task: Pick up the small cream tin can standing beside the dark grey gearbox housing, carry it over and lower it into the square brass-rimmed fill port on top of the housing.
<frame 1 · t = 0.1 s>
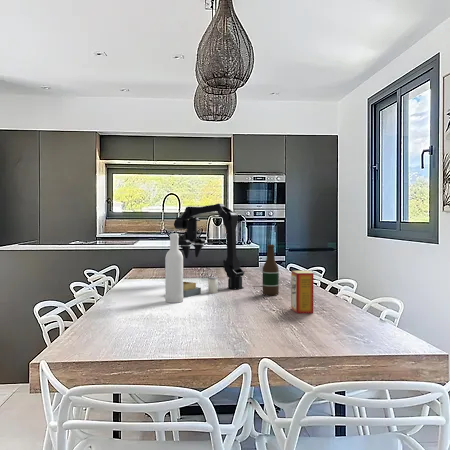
hand: (191, 257, 267), 15 cm above the table, tool pointing down, fingers open, 9 cm apart
bottle: (174, 301, 214), on the table
gearbox: (183, 294, 233), on the table
beer bottle: (270, 294, 233), on the table
baking soda box: (302, 311, 193), on the table
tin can: (212, 292, 238), on the table
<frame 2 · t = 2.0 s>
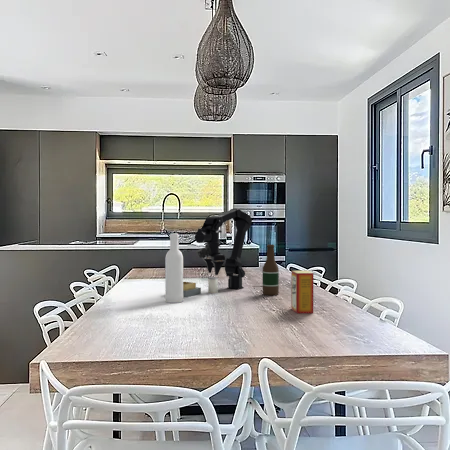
hand: (213, 273, 238), 9 cm above the table, tool pointing down, fingers open, 9 cm apart
nothing on the table moved.
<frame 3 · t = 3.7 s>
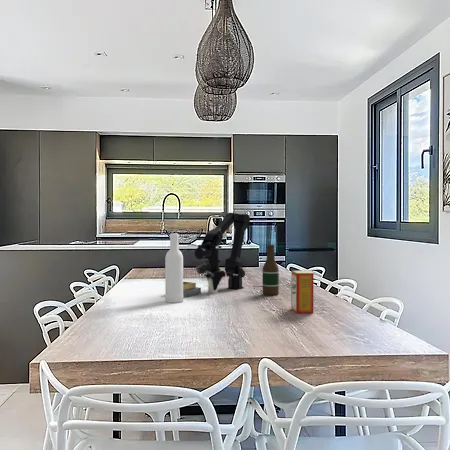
hand: (212, 289, 238), 2 cm above the table, tool pointing down, fingers closed on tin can, 4 cm apart
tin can: (212, 292, 238), on the table, touching gripper
everything else where it was.
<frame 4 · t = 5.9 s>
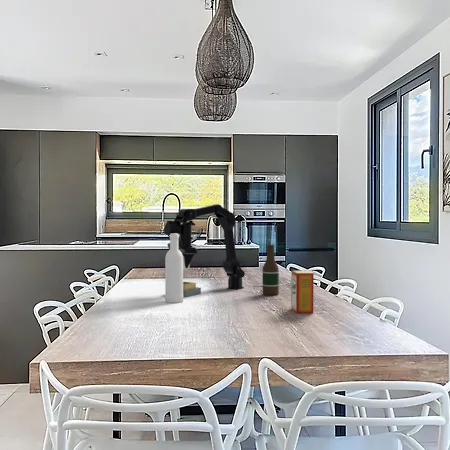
hand: (184, 267, 233), 13 cm above the table, tool pointing down, fingers closed on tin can, 4 cm apart
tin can: (184, 270, 233), point 11 cm above the table, touching gripper
everything else where it was.
when the fingers open (6 cm above the table, at t = 8.2 s): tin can drops 2 cm, resting on gearbox.
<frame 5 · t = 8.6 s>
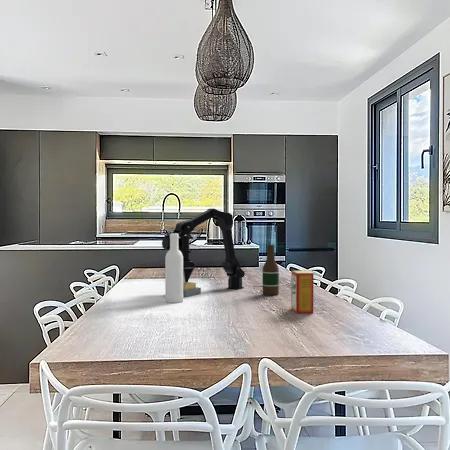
hand: (183, 281, 233), 6 cm above the table, tool pointing down, fingers open, 9 cm apart
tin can: (183, 288, 233), point 3 cm above the table, touching gearbox
everything else where it was.
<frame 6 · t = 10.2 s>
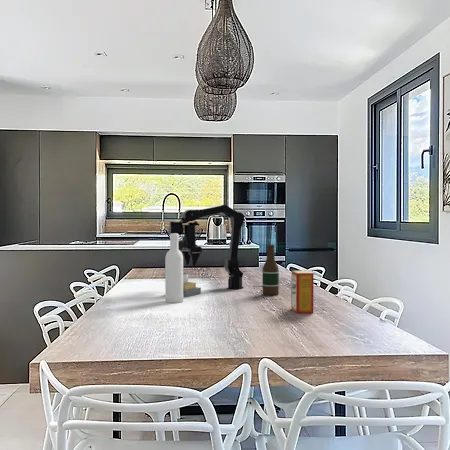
hand: (190, 265, 245), 13 cm above the table, tool pointing down, fingers open, 9 cm apart
nothing on the table moved.
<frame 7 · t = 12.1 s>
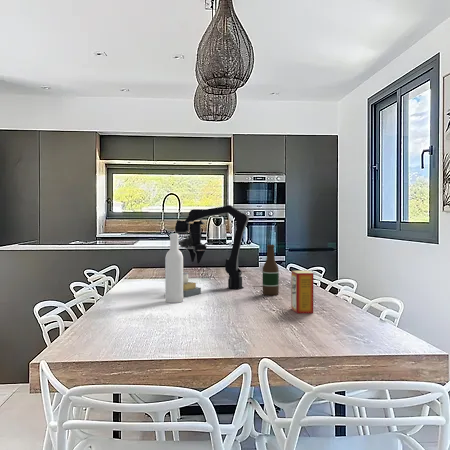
hand: (195, 262, 256), 13 cm above the table, tool pointing down, fingers open, 9 cm apart
nothing on the table moved.
at the end: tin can 0.0 cm off-centre on the gearbox, point 3.0 cm above the gearbox's base; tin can tilted 1°; the gripper is holding nothing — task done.
